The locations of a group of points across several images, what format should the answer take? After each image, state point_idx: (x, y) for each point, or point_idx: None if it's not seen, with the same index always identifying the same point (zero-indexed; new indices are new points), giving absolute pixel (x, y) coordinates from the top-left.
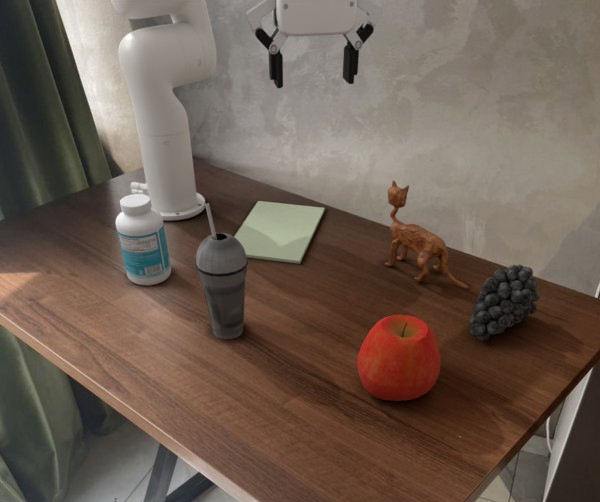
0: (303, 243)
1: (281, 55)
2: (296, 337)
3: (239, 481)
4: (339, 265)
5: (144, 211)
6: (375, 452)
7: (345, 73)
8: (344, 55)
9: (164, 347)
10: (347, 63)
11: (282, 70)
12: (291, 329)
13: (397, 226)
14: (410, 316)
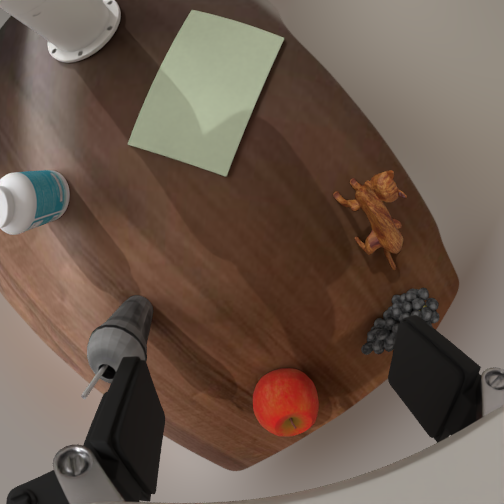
0: (238, 129)
1: (150, 494)
2: (206, 326)
3: (168, 437)
4: (278, 186)
5: (9, 222)
6: (250, 428)
7: (404, 360)
8: (439, 371)
9: (88, 324)
10: (419, 395)
11: (158, 455)
12: (202, 313)
13: (366, 200)
14: (304, 414)
